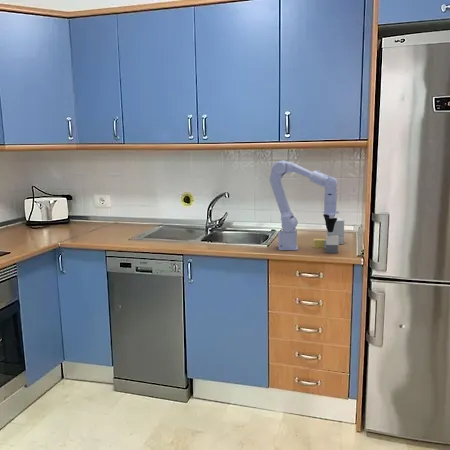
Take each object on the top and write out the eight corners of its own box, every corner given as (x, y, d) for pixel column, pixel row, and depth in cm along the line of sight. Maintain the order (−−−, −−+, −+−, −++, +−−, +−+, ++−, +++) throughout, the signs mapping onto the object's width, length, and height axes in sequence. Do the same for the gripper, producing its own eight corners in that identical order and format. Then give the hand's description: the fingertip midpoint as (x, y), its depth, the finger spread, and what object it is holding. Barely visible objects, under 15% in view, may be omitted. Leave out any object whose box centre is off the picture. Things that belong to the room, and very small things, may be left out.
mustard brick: (313, 248, 236) (314, 240, 235) (313, 246, 239) (313, 238, 238) (325, 248, 235) (325, 240, 234) (324, 246, 238) (324, 238, 237)
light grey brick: (326, 244, 225) (326, 236, 224) (326, 243, 228) (326, 235, 227) (338, 244, 224) (338, 236, 223) (337, 243, 227) (337, 235, 226)
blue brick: (327, 249, 232) (327, 241, 231) (324, 248, 235) (324, 240, 234) (337, 248, 233) (337, 241, 232) (334, 247, 236) (334, 239, 235)
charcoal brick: (326, 253, 226) (326, 244, 225) (325, 251, 228) (325, 243, 228) (337, 253, 225) (338, 244, 224) (337, 251, 228) (337, 243, 227)
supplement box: (340, 241, 249) (340, 217, 246) (343, 244, 241) (344, 220, 239) (326, 241, 248) (326, 218, 246) (329, 244, 241) (330, 220, 239)
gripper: (340, 205, 217) (339, 233, 219) (337, 200, 231) (336, 227, 234) (325, 205, 217) (324, 233, 220) (322, 200, 232) (321, 227, 234)
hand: (329, 230), depth 227 cm, fingers open, 7 cm apart
